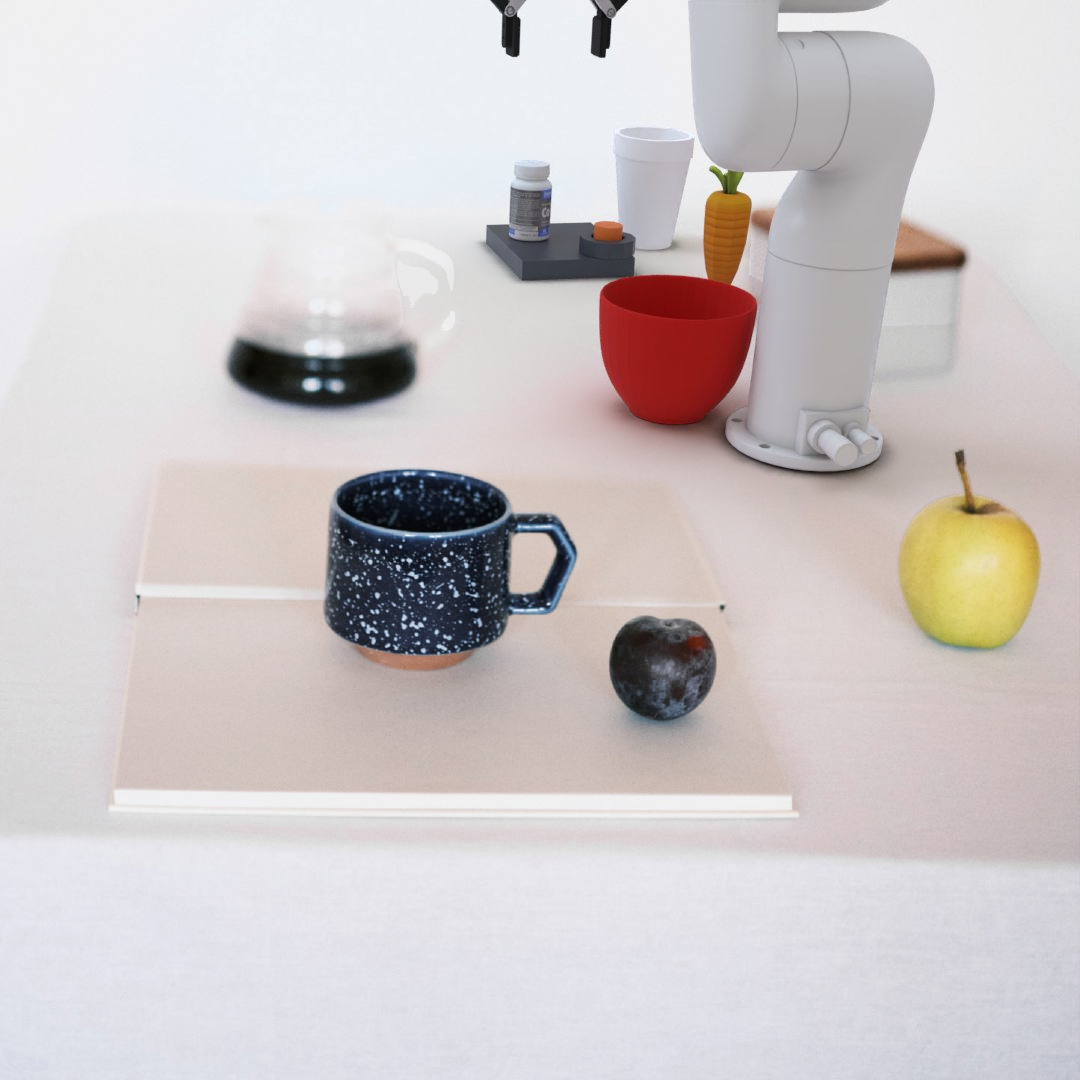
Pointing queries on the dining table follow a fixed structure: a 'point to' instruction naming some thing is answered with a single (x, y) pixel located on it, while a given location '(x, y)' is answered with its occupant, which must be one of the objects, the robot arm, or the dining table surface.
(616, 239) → the button
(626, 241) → the scale
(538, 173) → the pill bottle
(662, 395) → the ceramic cup
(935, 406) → the dining table surface
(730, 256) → the carrot
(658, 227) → the foam cup
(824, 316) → the robot arm
